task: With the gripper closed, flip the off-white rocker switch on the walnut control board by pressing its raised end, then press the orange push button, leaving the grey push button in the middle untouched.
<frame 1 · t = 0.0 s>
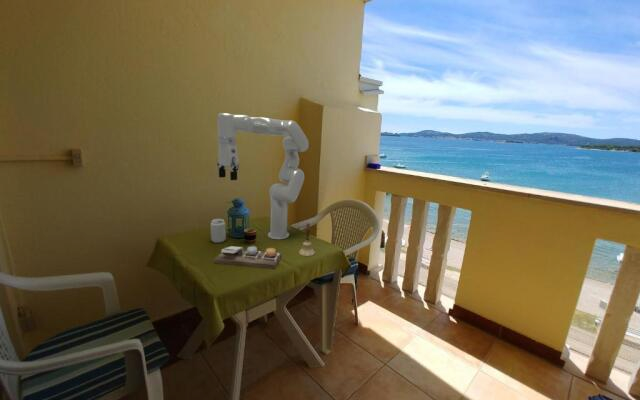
hand: (227, 178, 124), 37 cm above the table, tool pointing down, fingers open, 9 cm apart
panel: (249, 259, 125), on the table
hand bell: (306, 253, 136), on the table
grey button: (252, 250, 124), point 5 cm above the table, slide at 0.0 cm
rocker: (232, 249, 124), point 4 cm above the table, hinge at -15.0°
orange button: (270, 252, 123), point 5 cm above the table, slide at 0.0 cm
can: (218, 241, 145), on the table
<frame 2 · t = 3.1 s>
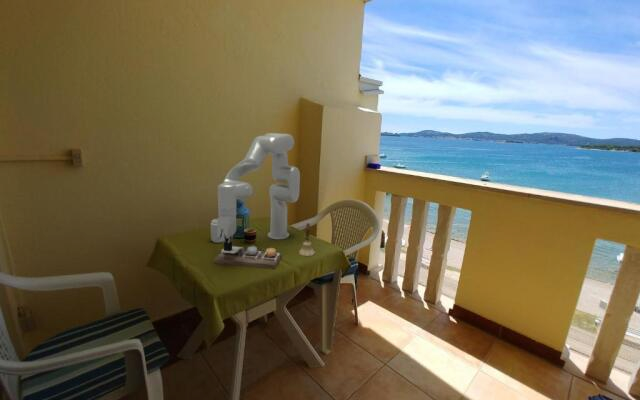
hand: (228, 250, 119), 6 cm above the table, tool pointing down, fingers closed
rocker: (232, 249, 124), point 4 cm above the table, hinge at -14.9°, touching gripper
everything else where it was.
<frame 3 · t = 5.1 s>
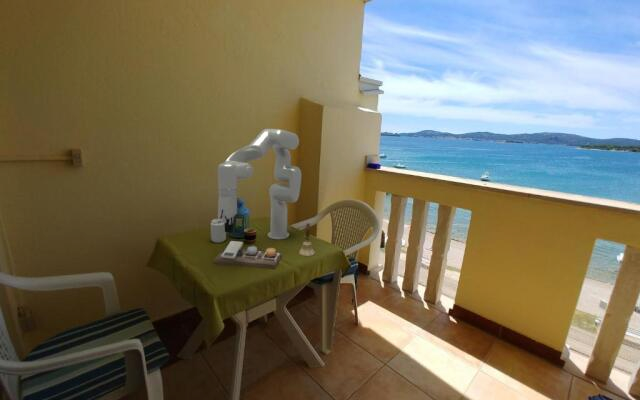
hand: (229, 231, 118), 15 cm above the table, tool pointing down, fingers closed
rocker: (232, 249, 124), point 4 cm above the table, hinge at 15.3°
everything else where it was.
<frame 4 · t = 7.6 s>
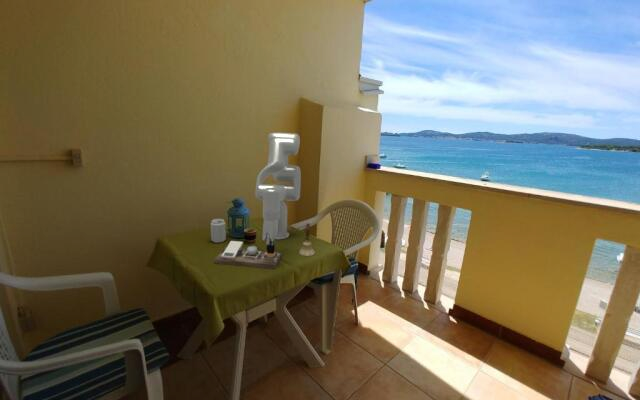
hand: (270, 252, 123), 5 cm above the table, tool pointing down, fingers closed
rocker: (232, 249, 124), point 4 cm above the table, hinge at 16.5°
orange button: (270, 254, 123), point 4 cm above the table, slide at 1.3 cm, touching gripper
everything else where it was.
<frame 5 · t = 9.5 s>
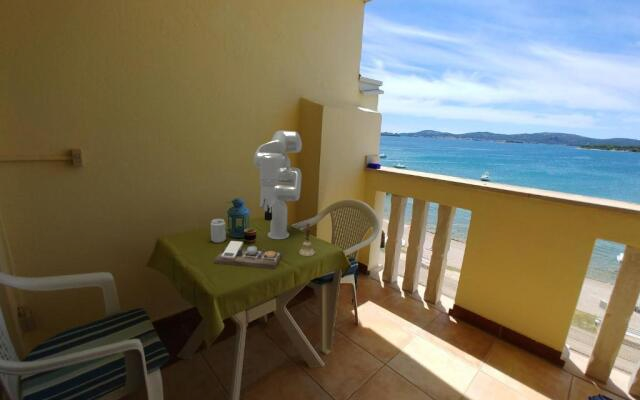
hand: (268, 219, 124), 19 cm above the table, tool pointing down, fingers closed
orange button: (270, 255, 123), point 3 cm above the table, slide at 1.5 cm
everything else where it was.
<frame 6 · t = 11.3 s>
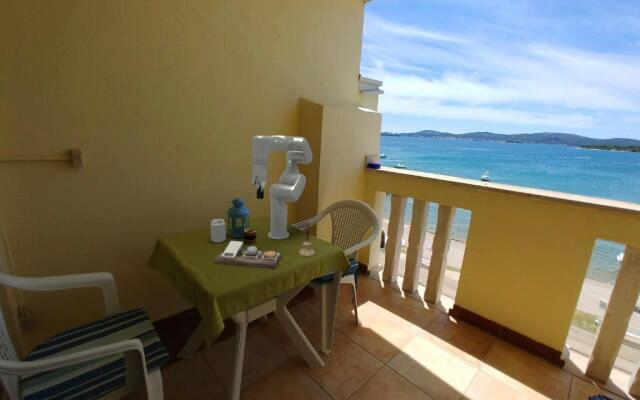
hand: (260, 198, 132), 27 cm above the table, tool pointing down, fingers closed
nothing on the table moved.
at the end: rocker at +16° (first picture: -15°); orange button slide at 1.5 cm; grey button slide at 0.0 cm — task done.
